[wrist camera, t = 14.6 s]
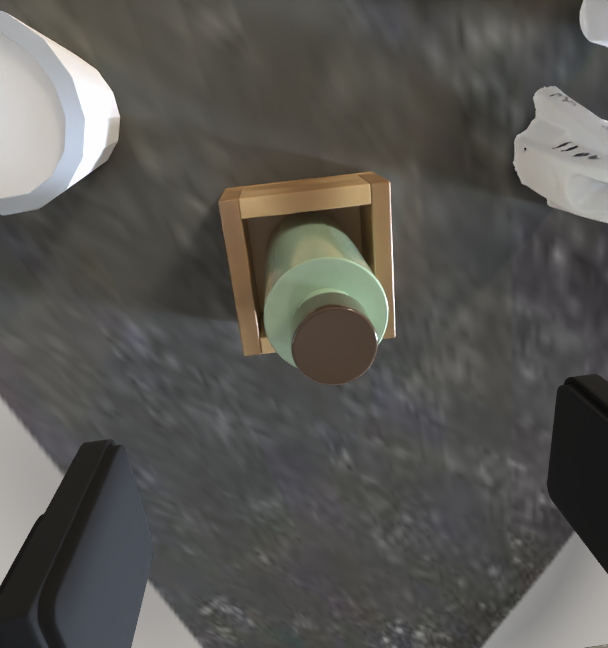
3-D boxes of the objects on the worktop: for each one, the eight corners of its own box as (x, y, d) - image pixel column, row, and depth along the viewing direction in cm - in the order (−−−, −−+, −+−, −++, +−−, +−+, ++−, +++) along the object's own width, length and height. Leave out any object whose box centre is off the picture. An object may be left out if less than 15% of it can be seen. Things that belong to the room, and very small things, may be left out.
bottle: (270, 300, 27) (272, 417, 17) (259, 216, 26) (253, 288, 15) (354, 290, 28) (407, 400, 17) (348, 206, 26) (404, 270, 15)
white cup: (-49, 112, 23) (-168, 111, 17) (41, -6, 22) (-53, -55, 15) (74, 218, 26) (10, 253, 19) (163, 118, 24) (125, 120, 18)
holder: (247, 324, 29) (243, 356, 25) (225, 188, 26) (217, 201, 22) (379, 308, 29) (396, 338, 25) (372, 171, 26) (390, 181, 22)
